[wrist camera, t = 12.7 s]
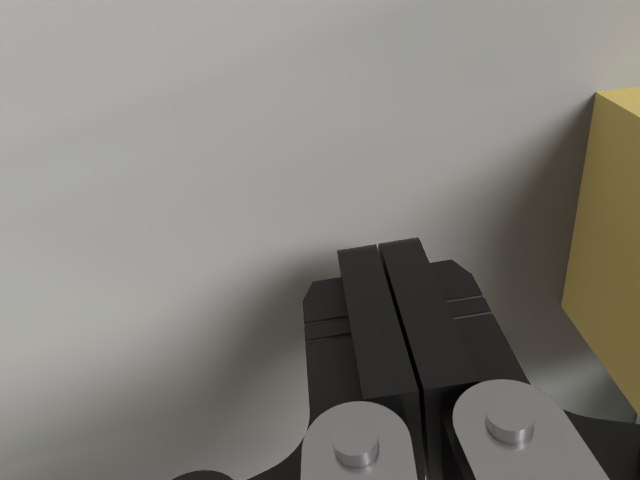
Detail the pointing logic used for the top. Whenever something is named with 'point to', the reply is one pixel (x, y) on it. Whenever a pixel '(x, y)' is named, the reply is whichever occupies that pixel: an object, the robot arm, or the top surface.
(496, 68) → the top surface
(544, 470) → the robot arm
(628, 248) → the block
